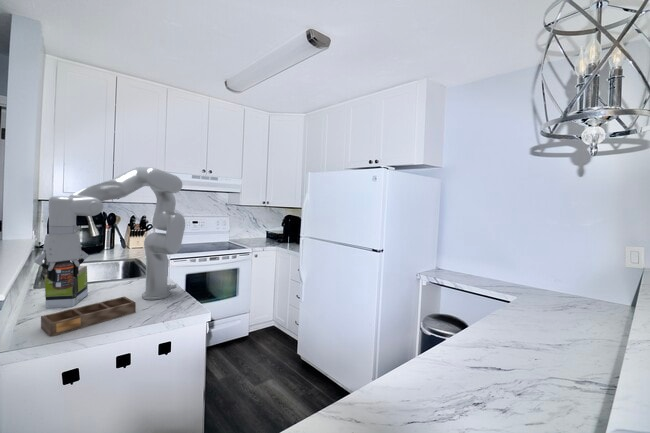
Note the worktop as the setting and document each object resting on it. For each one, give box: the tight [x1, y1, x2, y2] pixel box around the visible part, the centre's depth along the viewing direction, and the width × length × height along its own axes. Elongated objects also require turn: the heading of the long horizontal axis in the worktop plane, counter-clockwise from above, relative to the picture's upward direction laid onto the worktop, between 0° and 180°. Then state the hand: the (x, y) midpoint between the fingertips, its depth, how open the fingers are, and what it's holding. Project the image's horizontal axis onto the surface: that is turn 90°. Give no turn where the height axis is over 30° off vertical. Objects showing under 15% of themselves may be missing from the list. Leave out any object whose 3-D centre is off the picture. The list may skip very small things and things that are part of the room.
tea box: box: [44, 265, 89, 309], centre depth 135 cm, size 15×10×15 cm, turn 18°
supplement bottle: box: [52, 260, 74, 289], centre depth 111 cm, size 6×6×11 cm
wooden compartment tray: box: [40, 296, 137, 337], centre depth 120 cm, size 28×10×5 cm, turn 148°
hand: (63, 278), depth 111 cm, fingers closed on supplement bottle, 6 cm apart
